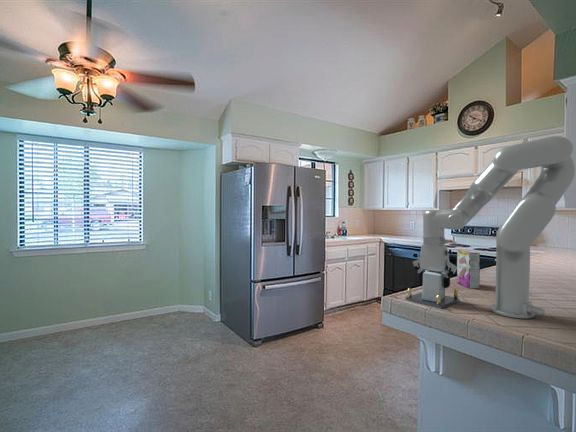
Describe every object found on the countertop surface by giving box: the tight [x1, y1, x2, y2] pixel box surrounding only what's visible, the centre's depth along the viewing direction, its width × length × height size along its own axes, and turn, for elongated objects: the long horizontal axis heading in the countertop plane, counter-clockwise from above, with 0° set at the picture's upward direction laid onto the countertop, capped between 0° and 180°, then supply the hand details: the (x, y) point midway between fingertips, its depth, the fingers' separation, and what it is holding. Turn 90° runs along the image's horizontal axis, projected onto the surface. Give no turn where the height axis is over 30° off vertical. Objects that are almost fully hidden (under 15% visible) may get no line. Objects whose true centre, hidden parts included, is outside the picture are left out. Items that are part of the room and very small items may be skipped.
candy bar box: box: [456, 248, 481, 290], centre depth 146 cm, size 11×5×16 cm, turn 179°
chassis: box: [405, 287, 461, 310], centre depth 123 cm, size 14×15×4 cm
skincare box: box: [421, 270, 446, 302], centre depth 122 cm, size 10×6×10 cm, turn 142°
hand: (433, 285), depth 122 cm, fingers open, 9 cm apart
